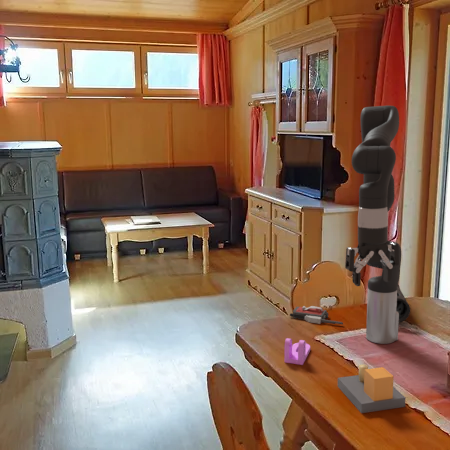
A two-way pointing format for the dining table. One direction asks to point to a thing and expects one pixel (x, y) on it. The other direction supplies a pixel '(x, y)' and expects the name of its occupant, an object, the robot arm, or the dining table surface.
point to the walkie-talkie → (312, 315)
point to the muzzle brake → (402, 306)
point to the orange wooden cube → (378, 384)
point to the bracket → (292, 353)
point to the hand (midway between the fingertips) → (371, 283)
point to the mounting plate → (360, 399)
